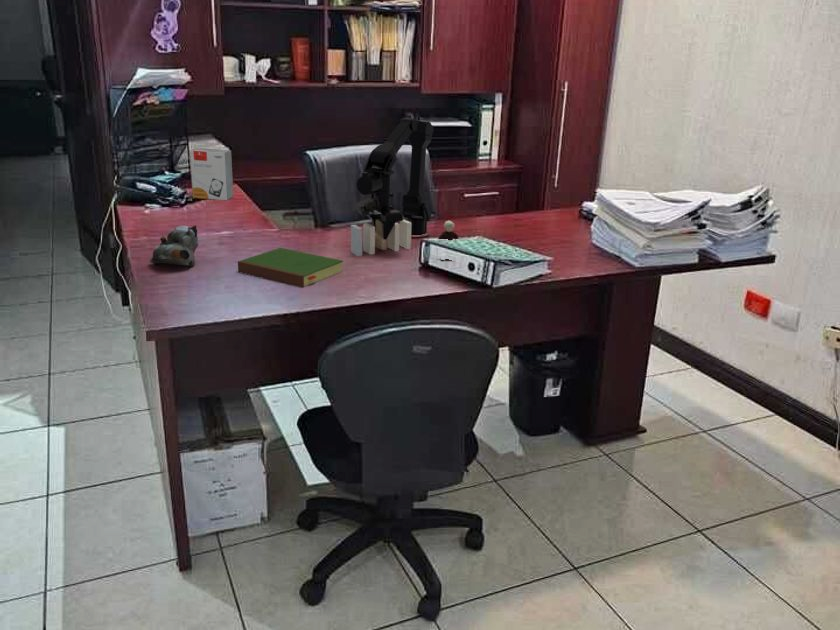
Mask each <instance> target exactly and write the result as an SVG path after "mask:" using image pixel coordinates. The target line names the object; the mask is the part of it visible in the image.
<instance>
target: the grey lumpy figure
mask: <svg viewBox="0 0 840 630" xmlns="http://www.w3.org/2000/svg"><path fill="white" fill-rule="evenodd" d="M197 229H198V228H197V225H193V226H191V227H190V226H187V225H179V226H176V227H175V228H174V229H172V230H170V231H169V232H168V234H167V236H164V235H163V236H161V237H160V242H161V243H159V245H158V246H156V247H154V249H153V251H152V257H151V258H150V259H149V262H150V263H152V264H153V265H156V263H157V264H170V265H171V264H172V265H178V266H185V267H187V266H189V267H188V268H190V267H191V268H193V267H194V266H195V263H196V257H195V251H196V250H197V248H198V246H199V243H200V242H199V236H198V230H197ZM192 266H193V267H192Z"/></svg>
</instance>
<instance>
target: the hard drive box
mask: <svg viewBox="0 0 840 630" xmlns="http://www.w3.org/2000/svg"><path fill="white" fill-rule="evenodd" d="M232 159H233V158H232V150H230V149H220V148H218V149H216V148H215V149H214V148H203V147H196V148H191V149H189V161H190V162H189V163H190V178H191V189H192V190H191V191H192V193H191V194H192V198H193V199H199V200H202V199H203V200H204V199H205V200H217V201H229V200H230V199H232V198H234V182H233V181H234V179H233V178H234V177H233V165H232V164H233V161H232Z"/></svg>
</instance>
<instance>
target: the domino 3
mask: <svg viewBox="0 0 840 630" xmlns="http://www.w3.org/2000/svg"><path fill="white" fill-rule="evenodd" d="M375 248H378V249H380V250H382V251H384V250H385V251H386V250H388V238H387V239H383V232H382V224H381V223H380V222H379V221H378V219H377V220H376V233H375Z"/></svg>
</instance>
